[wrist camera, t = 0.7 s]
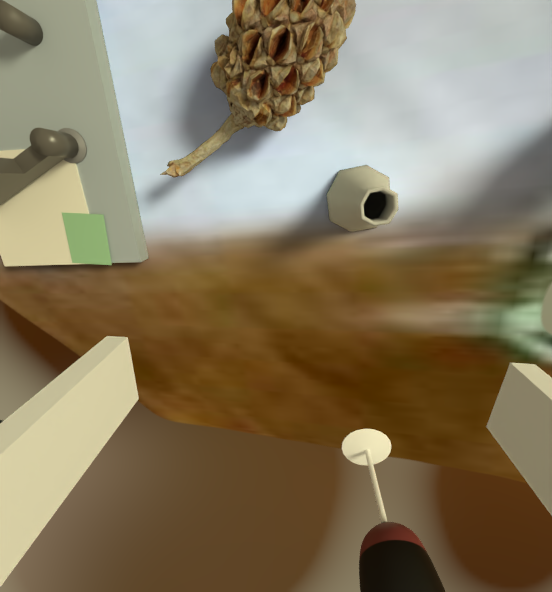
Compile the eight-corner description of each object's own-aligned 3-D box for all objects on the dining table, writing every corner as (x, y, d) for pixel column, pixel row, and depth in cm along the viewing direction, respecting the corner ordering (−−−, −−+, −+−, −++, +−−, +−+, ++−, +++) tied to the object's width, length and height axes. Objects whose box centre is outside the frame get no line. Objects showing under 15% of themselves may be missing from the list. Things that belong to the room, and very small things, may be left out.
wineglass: (404, 439, 46) (475, 618, 27) (372, 474, 49) (415, 656, 30) (359, 418, 45) (400, 586, 26) (329, 454, 48) (347, 629, 29)
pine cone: (293, -44, 27) (289, -160, 18) (367, 41, 29) (397, -24, 20) (161, 157, 34) (108, 149, 25) (226, 216, 36) (200, 228, 27)
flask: (320, 227, 35) (326, 243, 26) (332, 160, 33) (344, 152, 24) (381, 236, 35) (409, 256, 26) (399, 169, 33) (437, 165, 23)
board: (-69, 15, 31) (-135, -14, 26) (95, -4, 29) (56, -38, 25) (20, 263, 40) (-17, 274, 36) (148, 259, 39) (127, 270, 34)
